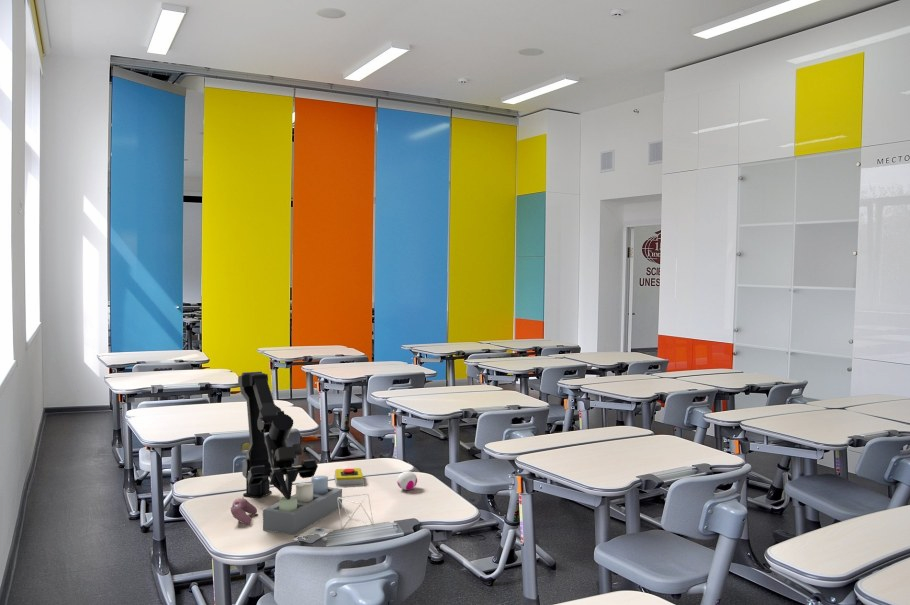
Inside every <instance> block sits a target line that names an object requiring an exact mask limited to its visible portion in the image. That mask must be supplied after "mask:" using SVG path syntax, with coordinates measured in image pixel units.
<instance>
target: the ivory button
mask: <svg viewBox="0 0 910 605" xmlns="http://www.w3.org/2000/svg"><path fill="white" fill-rule="evenodd" d="M295 494H296V498H297V502H303V503H309V502H311V501H313V484H312V483H311V482H299V483H297V484H296V485H295Z"/></svg>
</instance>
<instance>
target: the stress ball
mask: <svg viewBox="0 0 910 605" xmlns="http://www.w3.org/2000/svg"><path fill="white" fill-rule="evenodd" d="M396 479H397V480H396V482H397V486H398V487H399V488H400V489H401V490H403V491H409V490H413V491H417V489H414V488H415V487H416V486H417V483H418V476H417V474H415V473H414V472H413V471H409V470H406V471H403V472H400V474H399V475H398V477H397V478H396Z"/></svg>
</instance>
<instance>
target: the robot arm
mask: <svg viewBox="0 0 910 605" xmlns="http://www.w3.org/2000/svg"><path fill="white" fill-rule="evenodd" d="M237 383H238V384H237V386H238V387H239V388H240V394H241V395H242V397H243V398H244V399H245V401H246V409H247V411H246V412H247V422H248V433H249V435H248V436H249V447H248V449H247V452H246V453H245V459H244V462H243V465H242V467H241V470H242V471H241V472H242V473H241V474H242V476H243V477H244V478H245V479H246V480H245V481H246V485H245V486H246V492H245V493H243V494H242V496H244V497H249V496H250V498H256V499H259V498H262V497H265V496H267V495H269V494H271V493H272V492H273V491H272V490H270V486H274V488H276V489H277V490H278V492H280V494H281V495H282V496H283V497H285V498H286V499H287V500H289V499H290V498H291V496H292V491H293V490H292V488H293V483H294V482H296V480H297V477H298V475H299V477H300V478H302V479H308V478H312V477H314V476H315V474H316V472H317V469H318V468H319V465H318V462H317V461H316V459H315V458H313V459H305V460H302V461H301V462H300V465H295V466H293V464H295V462H296V461H295V459H296V458H297V457H300V456H301V455H302V453H303V450H302V446H301V443H294V444H292V446H288V442H287V439H289V436H290V434H291V431H292V429H293V426H294V419H293V418H292V417H291V416H290V415H288V414H286V413H285V410H282V408H280V407H279V406H278V405H276V404H275V401H274V397H273V395H272V391H271V388H270V385H269V376H268V373H265V372H262V371H249V372H248V371H247V372H245V371H244V372H242V373H241V375H238V378H237ZM265 434H266V435H265Z"/></svg>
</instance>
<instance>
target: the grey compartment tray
mask: <svg viewBox="0 0 910 605" xmlns="http://www.w3.org/2000/svg"><path fill="white" fill-rule="evenodd" d="M291 496H292V497H296V493H294V494H293V495H292V494H291ZM338 497H342V499H339V498H338ZM337 498H338V499H339V500H340V502H341V503H342V505H343V489H342V488H339V487H329V486H328V493H326V494H324V495H318V494H313V501H311V502H309V503H303V502H297V509H296V510H294V511H292V512H289V511H282V510H279V501H278V502H276V503H274V504H272V505H269V506H267V507H265V508H263V509H262V531H268V532H273V533H281V534H286V535H293V536H295V535H296V534H298V533H300V532H301V531H303V530H305V529H307V528H308V527H310V526H312V525H314V524H315V523H317V522H319V521H321V520H322V519H324V518H327V517H328V516H329V515H331V514H333V513H335V512H336V511H339V509H341V508H343V507H342V505H341V503H340V502H339V500H337ZM338 502H339V507H338Z"/></svg>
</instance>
